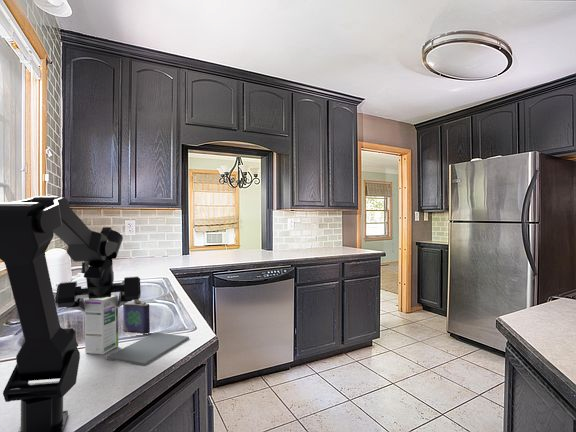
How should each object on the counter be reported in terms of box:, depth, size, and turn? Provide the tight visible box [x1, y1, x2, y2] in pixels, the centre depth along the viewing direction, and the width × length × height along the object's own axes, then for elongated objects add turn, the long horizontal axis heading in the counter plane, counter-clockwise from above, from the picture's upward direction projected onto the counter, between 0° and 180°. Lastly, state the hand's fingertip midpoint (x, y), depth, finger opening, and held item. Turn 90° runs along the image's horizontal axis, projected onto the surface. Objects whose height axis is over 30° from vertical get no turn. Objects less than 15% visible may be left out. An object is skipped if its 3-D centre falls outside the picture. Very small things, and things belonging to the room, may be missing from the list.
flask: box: [122, 298, 151, 335], centre depth 100 cm, size 9×3×11 cm, turn 76°
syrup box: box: [84, 294, 119, 355], centre depth 86 cm, size 6×6×14 cm
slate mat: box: [106, 332, 190, 366], centre depth 87 cm, size 18×12×1 cm, turn 163°
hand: (102, 307), depth 88 cm, fingers closed on syrup box, 8 cm apart
